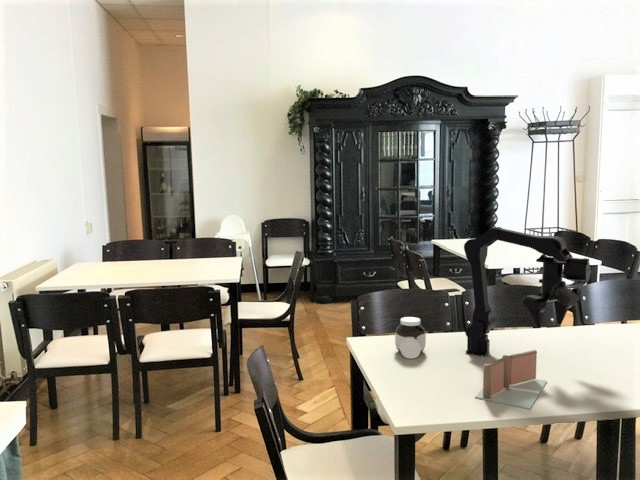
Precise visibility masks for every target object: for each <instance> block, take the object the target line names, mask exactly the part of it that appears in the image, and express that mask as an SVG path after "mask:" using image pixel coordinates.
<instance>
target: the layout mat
mask: <svg viewBox="0 0 640 480" xmlns="http://www.w3.org/2000/svg"><path fill="white" fill-rule="evenodd" d="M547 382H548V381H547V380H546V379H545V380H544V379H540V378H539V379H538V378H536V379H533V380H529V381H525V382H522V383H518V384H514V385H509V386H511V387H509V388H504V387H503V390H502V391H500V392H498V393H496V394H494V395H492V396H491V398H490V399H485V398H483V387H482V388H481V390H479V392H478V393H477V394H476V395H475V397H474V398H476V399H480V400H485V401H489V402H494V403H499V404H503V405H508V406H513V407H517V408H522V409H528V410H531V409H532V407H533V405H534V404H535V402H536V400H537V399H538V397H539V396H540V394H541V392H542V390H543V389H544V387H545V385H546V384H547ZM506 389H512V390H506Z"/></svg>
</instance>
